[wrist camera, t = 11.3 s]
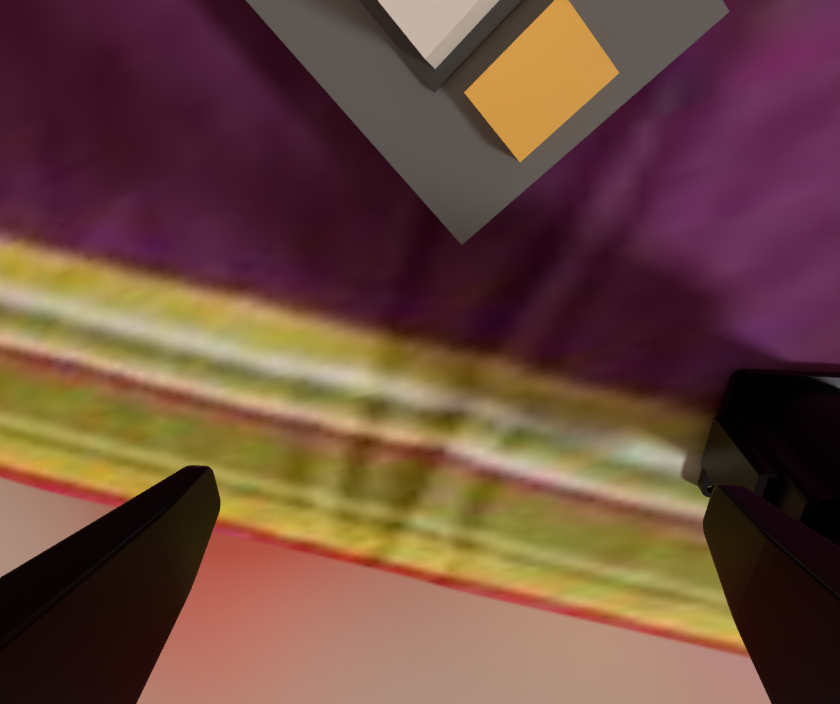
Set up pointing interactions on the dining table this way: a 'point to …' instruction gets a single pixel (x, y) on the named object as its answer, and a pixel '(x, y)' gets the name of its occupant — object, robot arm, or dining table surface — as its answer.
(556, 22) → the grey boxy piece
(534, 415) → the dining table surface
